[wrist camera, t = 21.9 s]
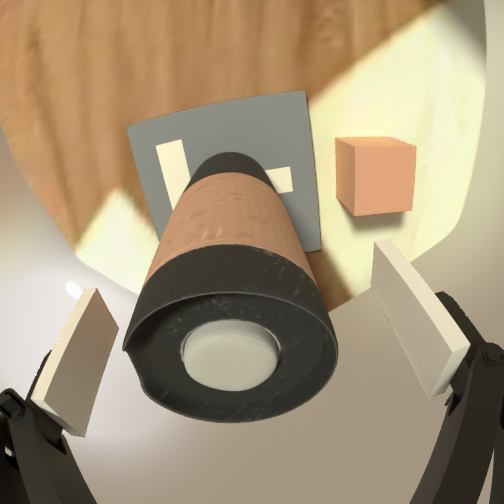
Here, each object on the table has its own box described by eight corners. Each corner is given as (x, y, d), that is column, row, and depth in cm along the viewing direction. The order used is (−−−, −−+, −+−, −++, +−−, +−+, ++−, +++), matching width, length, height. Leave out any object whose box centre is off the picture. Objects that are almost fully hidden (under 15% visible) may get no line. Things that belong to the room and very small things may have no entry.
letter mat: (303, 90, 23) (305, 90, 23) (319, 246, 31) (321, 249, 30) (128, 126, 23) (126, 126, 23) (172, 272, 31) (171, 275, 31)
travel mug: (289, 186, 27) (381, 357, 10) (233, 241, 29) (241, 438, 12) (226, 130, 24) (212, 228, 7) (172, 193, 26) (88, 372, 9)
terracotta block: (389, 136, 26) (416, 146, 21) (387, 192, 29) (411, 210, 24) (334, 137, 26) (354, 146, 21) (335, 196, 28) (354, 216, 24)
